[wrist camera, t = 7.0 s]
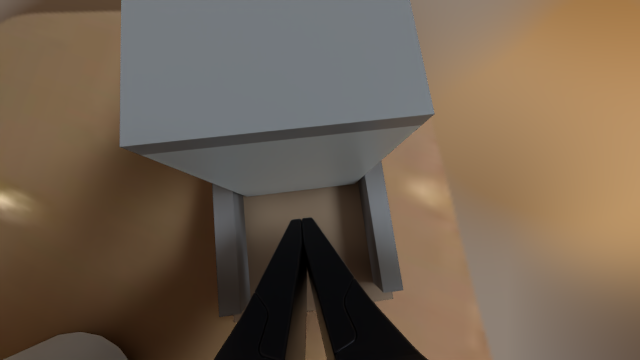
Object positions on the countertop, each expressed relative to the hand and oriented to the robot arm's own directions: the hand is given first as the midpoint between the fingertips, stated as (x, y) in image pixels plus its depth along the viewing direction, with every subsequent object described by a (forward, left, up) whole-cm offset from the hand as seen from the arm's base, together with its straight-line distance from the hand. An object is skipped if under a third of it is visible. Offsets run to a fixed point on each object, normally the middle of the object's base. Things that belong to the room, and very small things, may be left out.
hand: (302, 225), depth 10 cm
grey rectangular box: (+5, +2, -4) cm, 7 cm away
